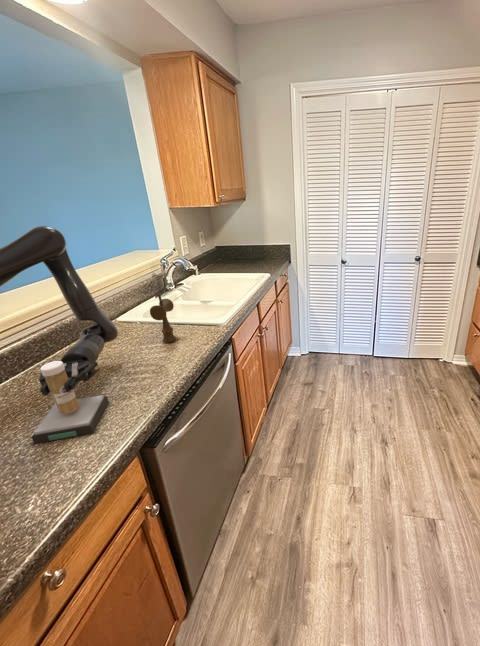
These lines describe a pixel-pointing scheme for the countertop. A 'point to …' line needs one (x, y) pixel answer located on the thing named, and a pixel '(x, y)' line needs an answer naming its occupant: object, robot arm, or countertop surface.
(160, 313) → the kendama
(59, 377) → the sprinkles bottle
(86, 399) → the kitchen scale
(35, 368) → the countertop surface
